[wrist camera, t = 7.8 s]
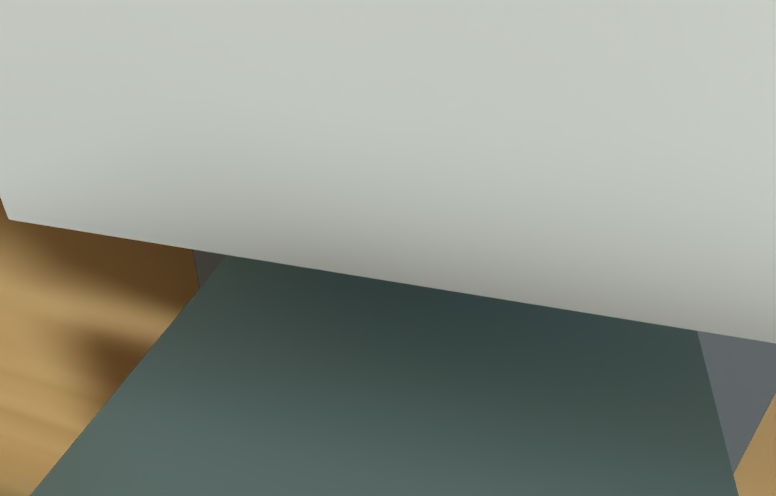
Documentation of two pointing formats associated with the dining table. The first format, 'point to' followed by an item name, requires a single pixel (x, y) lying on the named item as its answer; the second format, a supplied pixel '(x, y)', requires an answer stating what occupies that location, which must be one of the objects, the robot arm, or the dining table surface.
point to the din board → (425, 150)
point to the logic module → (399, 398)
